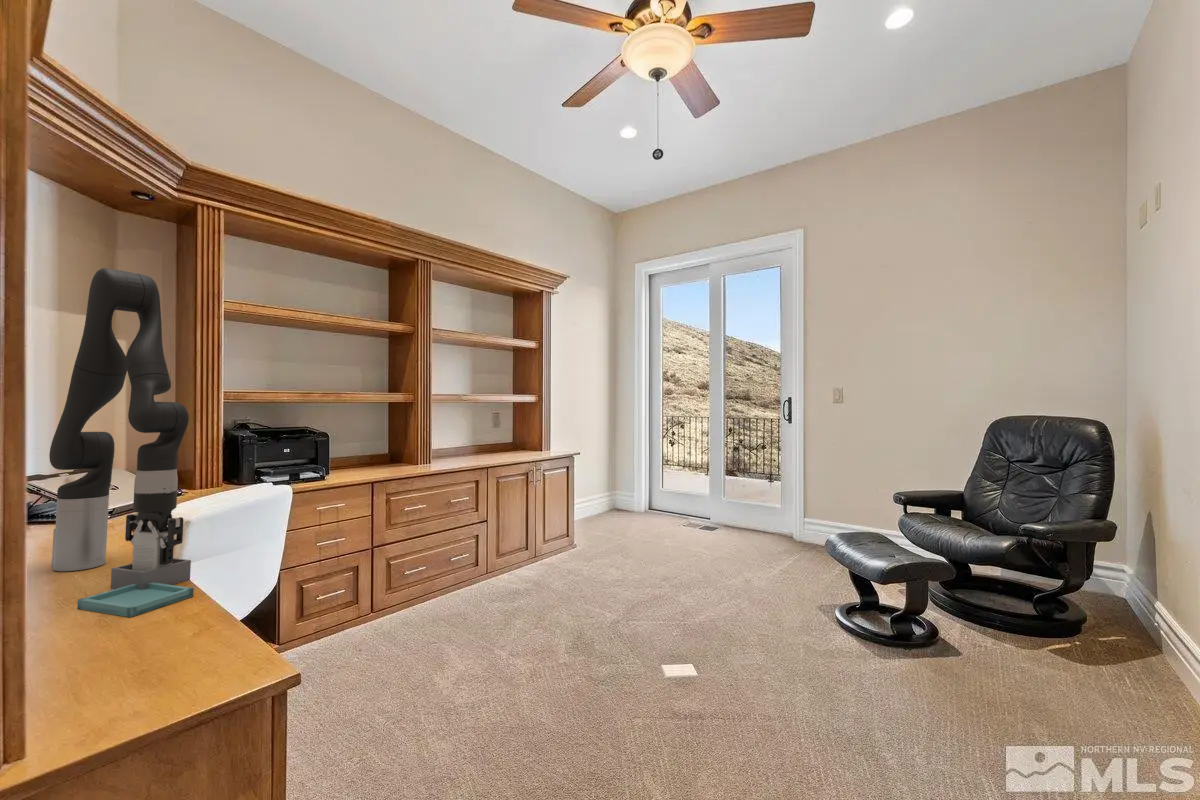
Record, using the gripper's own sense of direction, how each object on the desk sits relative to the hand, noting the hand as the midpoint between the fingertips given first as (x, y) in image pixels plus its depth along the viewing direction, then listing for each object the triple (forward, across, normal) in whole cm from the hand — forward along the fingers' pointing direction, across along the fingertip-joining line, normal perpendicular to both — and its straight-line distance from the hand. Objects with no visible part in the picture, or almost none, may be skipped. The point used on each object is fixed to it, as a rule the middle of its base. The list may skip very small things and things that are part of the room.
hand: (152, 562), depth 118 cm
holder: (+5, 0, 0) cm, 5 cm away
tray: (+5, +9, -9) cm, 14 cm away
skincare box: (+5, 0, 0) cm, 5 cm away
